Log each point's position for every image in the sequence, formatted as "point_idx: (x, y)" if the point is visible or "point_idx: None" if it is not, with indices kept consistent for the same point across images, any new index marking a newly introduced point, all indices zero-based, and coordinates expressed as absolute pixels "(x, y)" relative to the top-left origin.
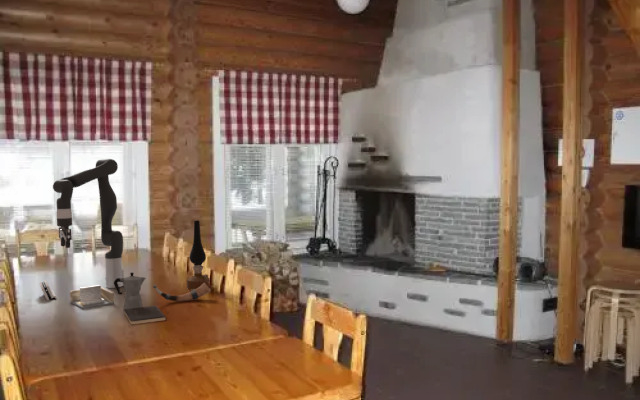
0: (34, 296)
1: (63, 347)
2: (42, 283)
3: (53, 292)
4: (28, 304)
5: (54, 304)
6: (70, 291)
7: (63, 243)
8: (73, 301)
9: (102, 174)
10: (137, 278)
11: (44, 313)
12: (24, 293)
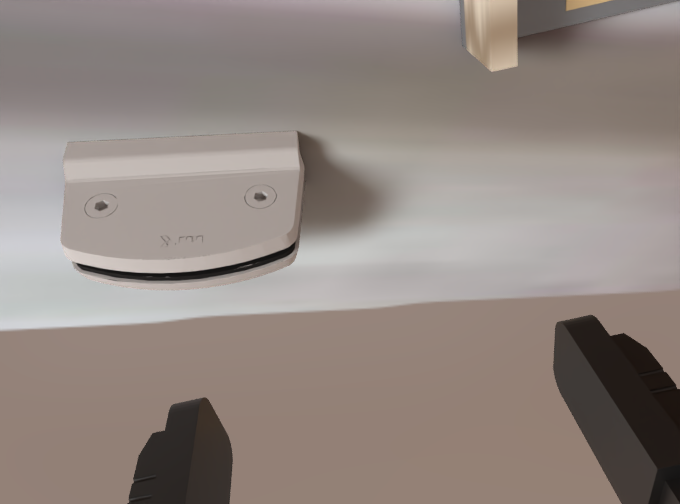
0: None
1: None
2: (202, 276)
3: (160, 161)
4: (363, 280)
5: (459, 151)
6: (507, 67)
7: (212, 477)
8: (523, 29)
9: None
10: None
11: (647, 205)
12: (18, 311)
